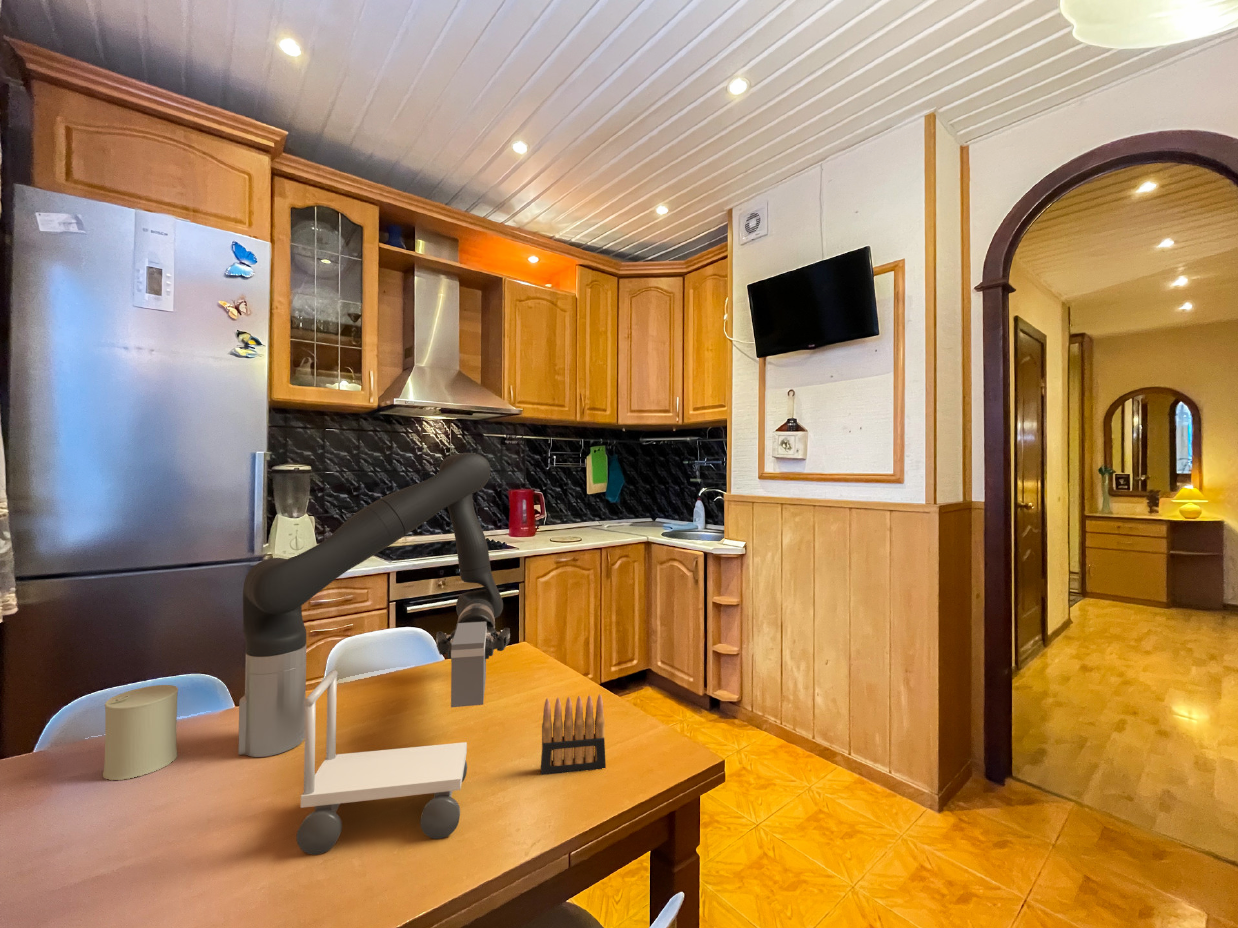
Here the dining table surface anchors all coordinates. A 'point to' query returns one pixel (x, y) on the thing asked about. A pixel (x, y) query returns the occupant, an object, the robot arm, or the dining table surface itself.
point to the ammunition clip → (573, 738)
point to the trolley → (374, 779)
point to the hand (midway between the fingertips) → (470, 654)
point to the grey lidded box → (468, 664)
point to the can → (140, 731)
